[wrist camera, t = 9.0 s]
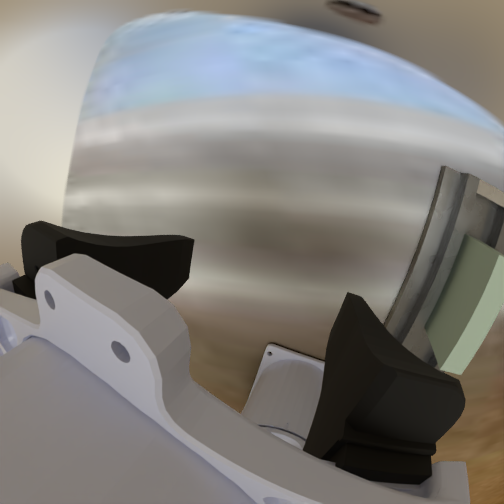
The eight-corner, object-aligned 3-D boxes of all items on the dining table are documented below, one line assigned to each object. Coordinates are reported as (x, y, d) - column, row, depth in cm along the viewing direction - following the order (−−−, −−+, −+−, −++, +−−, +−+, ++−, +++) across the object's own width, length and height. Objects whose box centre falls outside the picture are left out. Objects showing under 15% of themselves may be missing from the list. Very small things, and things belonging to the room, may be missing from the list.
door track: (420, 395, 21) (424, 411, 19) (354, 377, 23) (352, 395, 21) (514, 204, 14) (529, 209, 12) (441, 166, 16) (453, 165, 14)
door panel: (441, 330, 18) (461, 374, 13) (423, 324, 19) (439, 369, 13) (481, 241, 16) (519, 265, 10) (463, 232, 16) (499, 254, 11)
